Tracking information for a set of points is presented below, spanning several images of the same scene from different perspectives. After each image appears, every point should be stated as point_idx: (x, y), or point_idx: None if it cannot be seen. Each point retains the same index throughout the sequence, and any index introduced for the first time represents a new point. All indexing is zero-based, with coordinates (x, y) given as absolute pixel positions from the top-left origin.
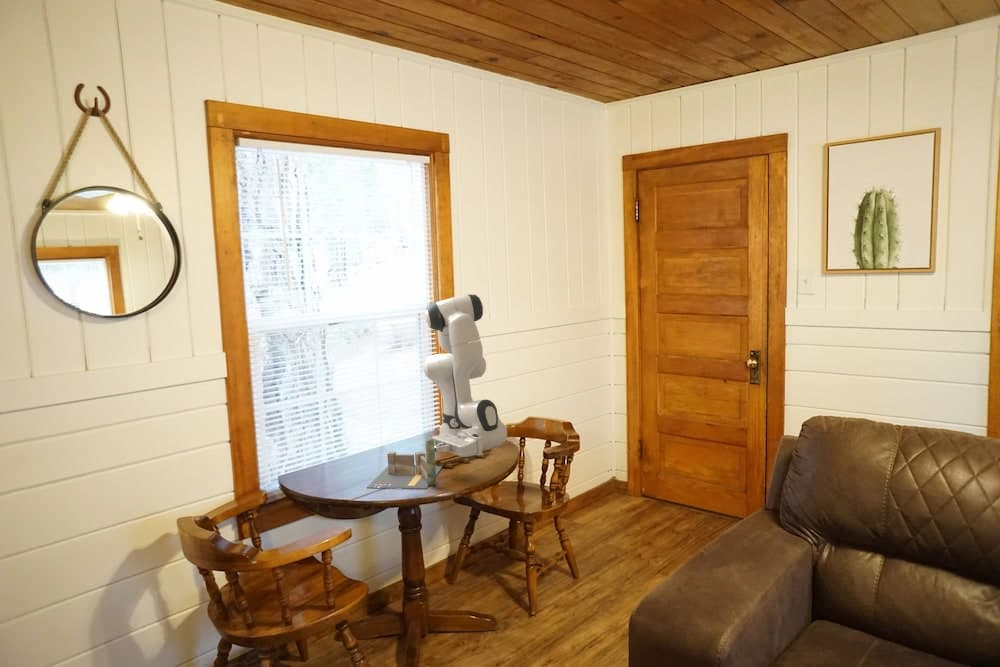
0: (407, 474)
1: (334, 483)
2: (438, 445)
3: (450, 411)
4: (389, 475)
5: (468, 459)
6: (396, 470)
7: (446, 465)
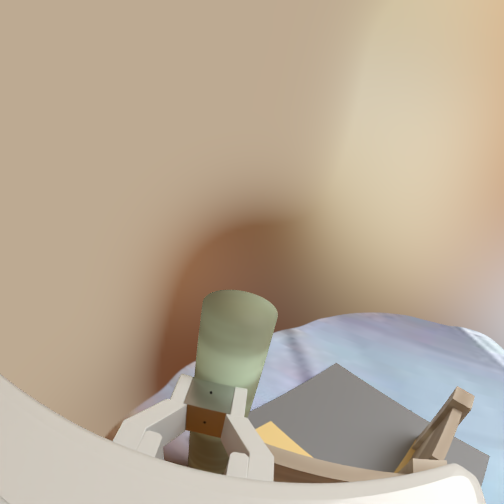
0: None
1: (401, 348)
2: (230, 425)
3: None
4: (404, 433)
5: None
6: (419, 447)
7: None
